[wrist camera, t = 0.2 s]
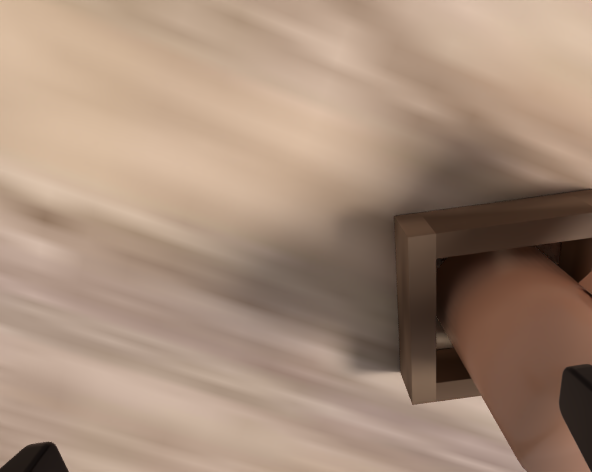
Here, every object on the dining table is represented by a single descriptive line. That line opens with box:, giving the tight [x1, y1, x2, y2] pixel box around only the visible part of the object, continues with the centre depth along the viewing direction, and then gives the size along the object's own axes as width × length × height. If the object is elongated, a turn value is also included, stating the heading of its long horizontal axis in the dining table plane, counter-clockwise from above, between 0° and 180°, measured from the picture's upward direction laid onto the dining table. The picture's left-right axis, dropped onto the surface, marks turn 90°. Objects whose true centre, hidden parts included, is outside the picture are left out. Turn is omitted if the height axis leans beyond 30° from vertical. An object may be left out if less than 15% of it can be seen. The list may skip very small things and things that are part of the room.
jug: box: [436, 245, 592, 472], centre depth 19 cm, size 11×6×9 cm, turn 142°
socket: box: [394, 189, 592, 405], centre depth 23 cm, size 9×9×2 cm
